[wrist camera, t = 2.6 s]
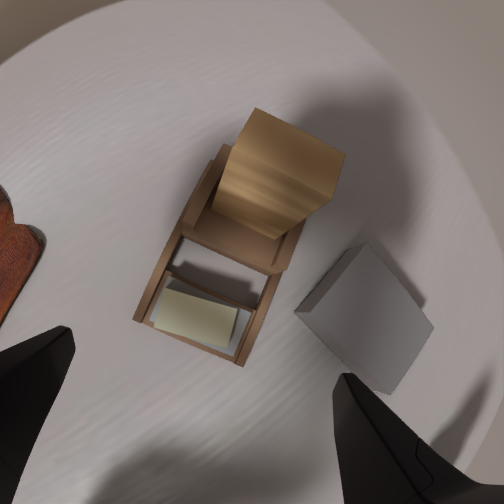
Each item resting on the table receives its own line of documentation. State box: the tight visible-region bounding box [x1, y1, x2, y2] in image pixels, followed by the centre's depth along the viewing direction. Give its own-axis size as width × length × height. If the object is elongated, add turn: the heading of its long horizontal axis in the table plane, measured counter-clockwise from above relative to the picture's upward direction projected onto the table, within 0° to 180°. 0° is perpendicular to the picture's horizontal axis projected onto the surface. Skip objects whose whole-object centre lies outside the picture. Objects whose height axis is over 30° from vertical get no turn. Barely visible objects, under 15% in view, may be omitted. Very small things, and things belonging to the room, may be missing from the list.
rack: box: [133, 144, 307, 367], centre depth 20 cm, size 13×8×4 cm, turn 157°
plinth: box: [294, 242, 434, 395], centre depth 22 cm, size 7×10×3 cm
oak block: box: [211, 107, 345, 240], centre depth 16 cm, size 2×5×8 cm, turn 67°
